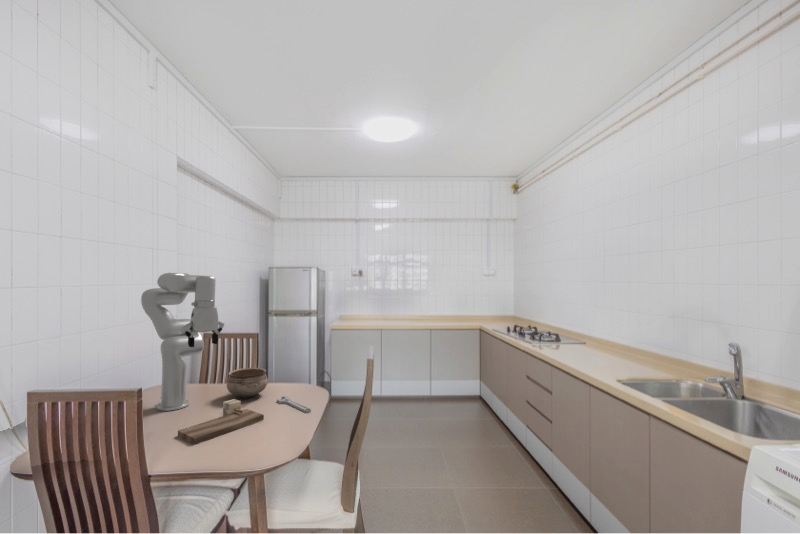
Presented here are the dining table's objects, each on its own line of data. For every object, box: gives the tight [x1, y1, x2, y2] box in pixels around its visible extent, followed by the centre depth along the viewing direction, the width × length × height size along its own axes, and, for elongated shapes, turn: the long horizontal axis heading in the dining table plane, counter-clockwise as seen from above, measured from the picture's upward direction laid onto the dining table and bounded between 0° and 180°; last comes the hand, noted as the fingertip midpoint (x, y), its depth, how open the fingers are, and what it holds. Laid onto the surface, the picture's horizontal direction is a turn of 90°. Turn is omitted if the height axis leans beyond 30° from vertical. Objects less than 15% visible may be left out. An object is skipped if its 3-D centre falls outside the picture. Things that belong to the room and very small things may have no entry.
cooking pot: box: [226, 367, 269, 400], centre depth 179 cm, size 25×19×12 cm
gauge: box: [222, 398, 244, 417], centre depth 152 cm, size 10×5×6 cm, turn 56°
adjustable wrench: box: [276, 395, 312, 414], centre depth 166 cm, size 25×6×2 cm, turn 43°
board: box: [177, 408, 265, 445], centre depth 141 cm, size 12×28×2 cm, turn 146°
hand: (203, 345), depth 151 cm, fingers open, 9 cm apart
